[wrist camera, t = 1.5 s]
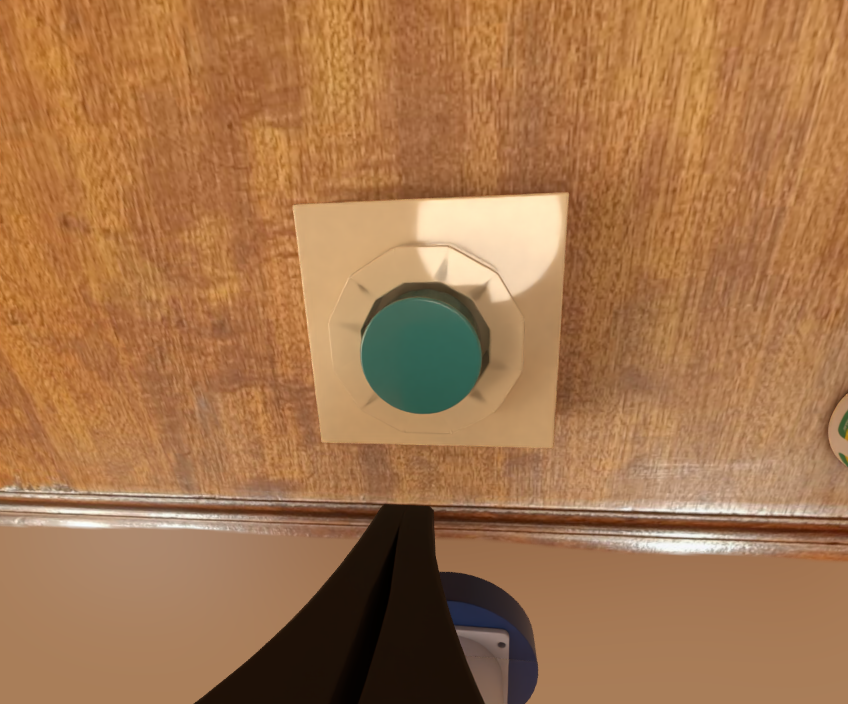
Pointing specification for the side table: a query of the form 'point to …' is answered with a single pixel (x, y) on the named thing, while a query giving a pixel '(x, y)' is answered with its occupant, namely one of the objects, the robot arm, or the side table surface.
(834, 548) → the side table surface
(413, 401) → the teal button
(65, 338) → the side table surface
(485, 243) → the push button box
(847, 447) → the supplement bottle
